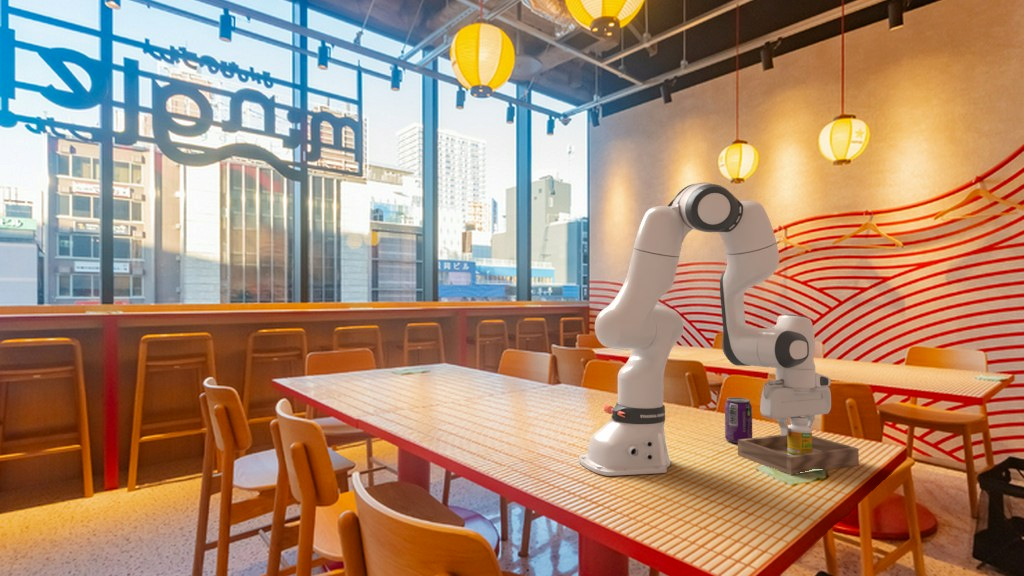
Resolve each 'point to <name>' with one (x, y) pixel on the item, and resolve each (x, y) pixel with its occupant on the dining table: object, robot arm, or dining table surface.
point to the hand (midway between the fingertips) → (796, 433)
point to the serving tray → (776, 455)
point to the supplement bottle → (799, 436)
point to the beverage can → (738, 419)
